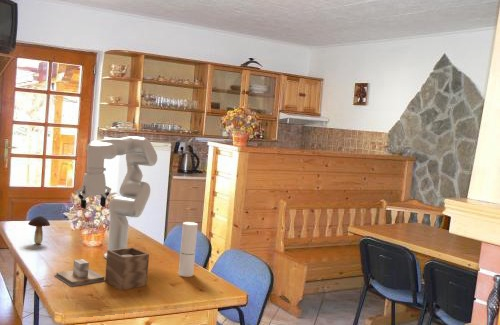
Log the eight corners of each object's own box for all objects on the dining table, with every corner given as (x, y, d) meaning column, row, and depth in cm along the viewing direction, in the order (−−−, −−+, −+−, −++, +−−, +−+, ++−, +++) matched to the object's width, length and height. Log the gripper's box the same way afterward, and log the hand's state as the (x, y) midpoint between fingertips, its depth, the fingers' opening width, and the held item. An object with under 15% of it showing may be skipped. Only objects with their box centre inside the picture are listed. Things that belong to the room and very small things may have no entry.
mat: (87, 271, 238) (87, 270, 238) (105, 280, 227) (105, 279, 227) (54, 276, 227) (54, 275, 227) (71, 286, 215) (71, 285, 215)
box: (130, 277, 236) (132, 247, 234) (146, 285, 226) (149, 254, 225) (105, 281, 226) (107, 250, 225) (120, 290, 217) (123, 257, 216)
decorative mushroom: (46, 241, 284) (48, 214, 283) (50, 246, 274) (52, 218, 273) (25, 241, 278) (27, 214, 277) (28, 246, 269) (30, 218, 268)
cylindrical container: (195, 273, 250) (200, 223, 248) (189, 277, 243) (193, 225, 241) (182, 271, 252) (186, 221, 251) (175, 274, 246) (180, 223, 244)
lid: (87, 270, 237) (88, 255, 237) (104, 279, 227) (105, 263, 226) (56, 275, 227) (57, 259, 226) (71, 284, 216) (73, 268, 216)
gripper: (107, 168, 245) (105, 204, 247) (73, 170, 232) (71, 207, 234) (115, 171, 239) (114, 207, 242) (81, 172, 227) (79, 210, 229)
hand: (93, 207), depth 238 cm, fingers open, 9 cm apart
